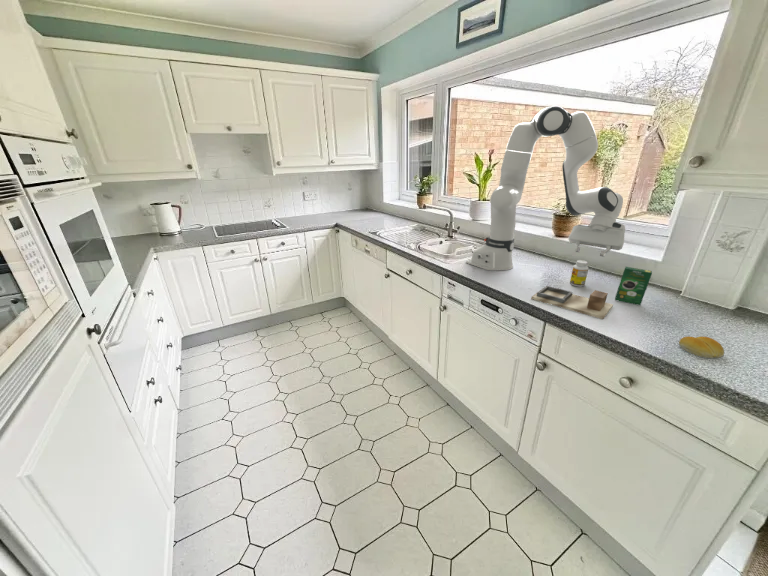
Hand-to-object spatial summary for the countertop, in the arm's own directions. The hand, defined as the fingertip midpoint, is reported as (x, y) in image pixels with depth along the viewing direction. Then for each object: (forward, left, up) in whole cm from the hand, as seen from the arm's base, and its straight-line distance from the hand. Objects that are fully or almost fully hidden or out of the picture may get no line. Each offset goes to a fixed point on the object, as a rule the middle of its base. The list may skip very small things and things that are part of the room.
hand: (589, 253), depth 136 cm
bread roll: (+40, -38, -12) cm, 56 cm away
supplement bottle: (0, -8, -12) cm, 15 cm away
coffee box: (+19, -14, -12) cm, 27 cm away
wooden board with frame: (+4, -29, -12) cm, 32 cm away
